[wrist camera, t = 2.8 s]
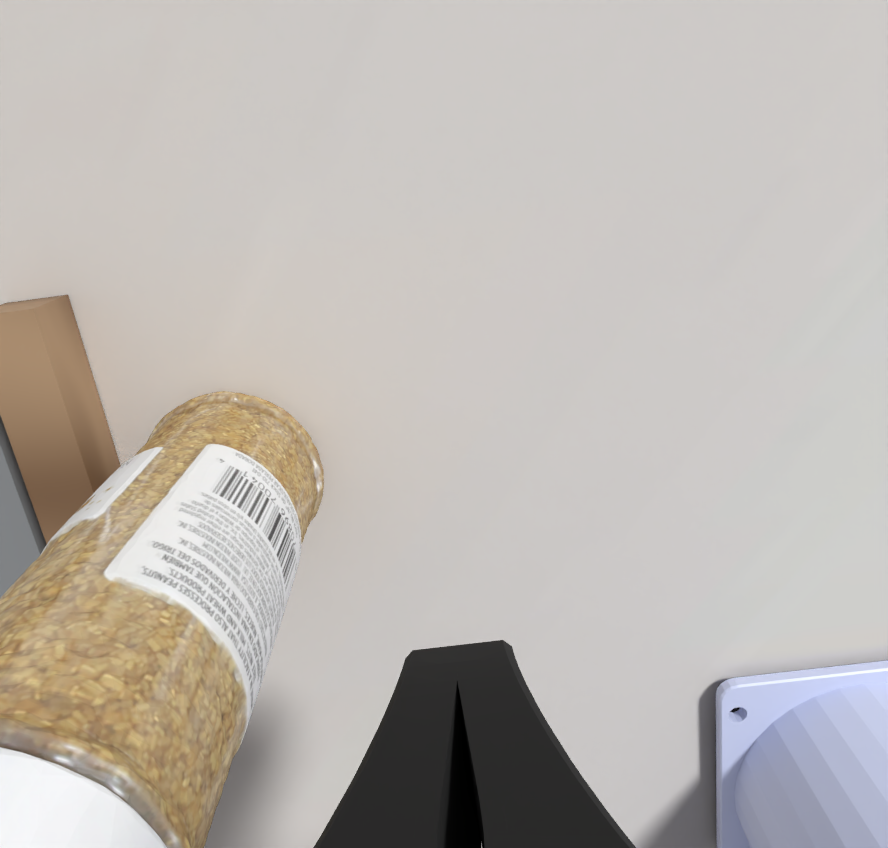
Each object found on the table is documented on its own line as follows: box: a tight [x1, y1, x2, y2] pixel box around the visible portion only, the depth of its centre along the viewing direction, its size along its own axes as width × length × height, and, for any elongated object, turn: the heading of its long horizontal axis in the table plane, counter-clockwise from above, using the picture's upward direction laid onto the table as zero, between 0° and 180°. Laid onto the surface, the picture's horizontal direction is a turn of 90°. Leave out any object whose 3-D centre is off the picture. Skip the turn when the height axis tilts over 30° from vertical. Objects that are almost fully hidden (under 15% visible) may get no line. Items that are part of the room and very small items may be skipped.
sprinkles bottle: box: [0, 391, 324, 848], centre depth 13 cm, size 5×5×14 cm
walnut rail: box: [0, 295, 120, 544], centre depth 19 cm, size 10×2×2 cm, turn 7°
